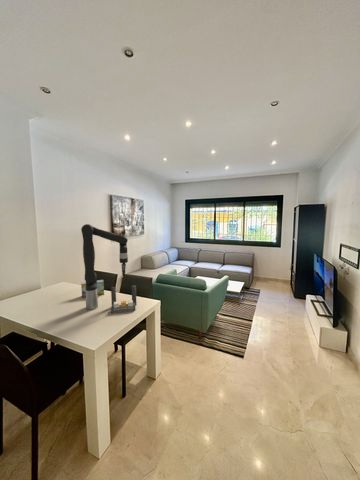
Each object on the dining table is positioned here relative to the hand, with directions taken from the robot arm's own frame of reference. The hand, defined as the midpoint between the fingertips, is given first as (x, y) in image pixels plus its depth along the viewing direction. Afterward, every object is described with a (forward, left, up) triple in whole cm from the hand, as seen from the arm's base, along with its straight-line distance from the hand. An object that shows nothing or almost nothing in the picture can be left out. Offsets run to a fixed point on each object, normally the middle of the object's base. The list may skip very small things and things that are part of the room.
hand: (123, 274), depth 185 cm
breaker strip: (0, -17, -28) cm, 32 cm away
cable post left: (-9, -8, -28) cm, 30 cm away
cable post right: (+9, -8, -28) cm, 30 cm away
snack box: (-33, +25, -28) cm, 50 cm away
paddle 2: (+6, -17, -24) cm, 30 cm away
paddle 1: (-6, -17, -24) cm, 30 cm away
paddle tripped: (0, -17, -24) cm, 29 cm away
